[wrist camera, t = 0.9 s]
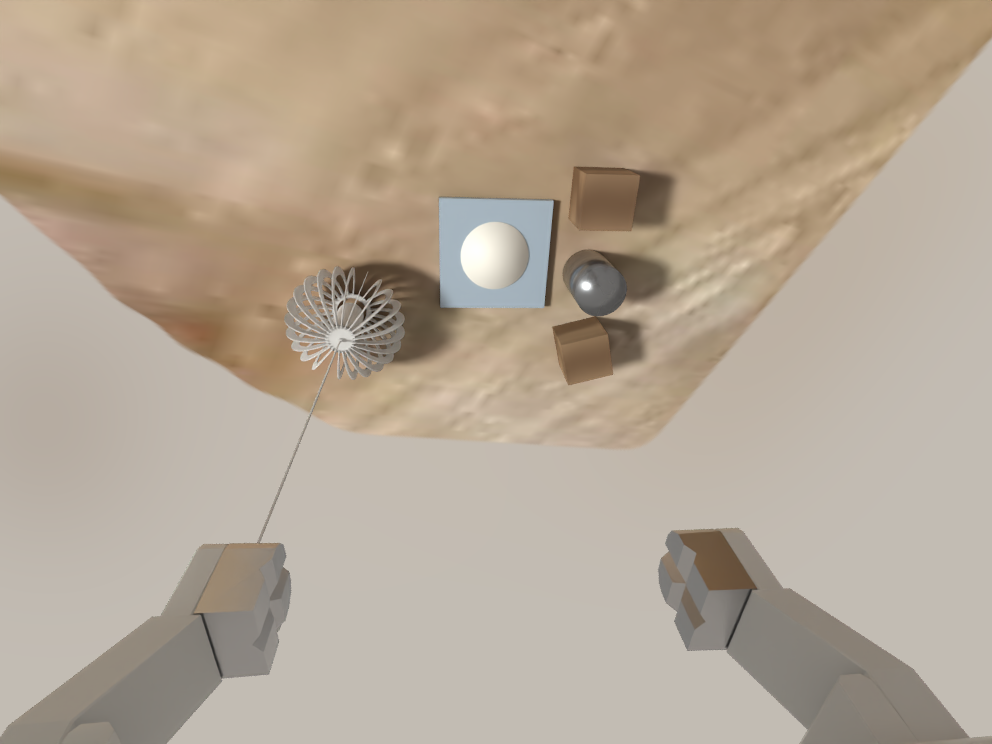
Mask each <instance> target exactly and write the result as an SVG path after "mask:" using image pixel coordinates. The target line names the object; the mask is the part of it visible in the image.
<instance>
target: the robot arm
mask: <svg viewBox="0 0 992 744" xmlns="http://www.w3.org/2000/svg"><path fill="white" fill-rule="evenodd" d="M665 544H666V546H667V548H668V550H669V552H668V553H666V554H665V555H664V556H663V557H662V558H661V560H660V565H659V569H658V572H659V584H660V588H661V592H662V594H663V597H664V599H665V601H666V603H667V604H668V605H669V606H671V607H672V608H673V609H674V610H676V611H677V614H676V618H675V621H674V622H675V624H676V626H677V629H678V631H679V633H680V635H681V638H682V640H683V642H684V644H685V647H686V648H687V650H688V651H690V650H691V651H692V650H693V651H695V650H727V653H728V654H729V655H730V656H731V657H732V658H733V659H735V660H736V661H737V662H738V663H739V664H740V665H741V666H742V667H743V668H744V669H745V670H746V671H747V672H748V673H749V674H750V675H751V676H752V677H753V678H754V679H755V680H756V681H757V682H758V683H760V684H761V685H762V686H763V687H764V688H765V689H766V690H767V691H768V692H769V693H770V694H771V695H772V696H773V697H774V698H775V699H776V700H777V701H778V702H779V703H780V704H781V705H782V706H784V707H785V708H786V709H787V710H788V711H789V712H790V713H791V714H792V715H793V716H794V717H795V718H796V719H797V720H798V721H799V722H800V723H801V724H802V725H803V726H804V727H805V728H806V729H808V730H807V732H806V733H805V735H804V737H803V739H802V740H801V742H800V744H992V736H986V737H974V738H969V736H968V735H967V734H966V733H965V731H964V730H963V729H962V728H961V727H960V726H959V724H958V723H957V722H956V720H955V719H954V718H953V717H952V716H951V714H950V713H949V712H948V711H947V710H946V708H945V707H944V706H943V705H942V703H941V702H940V701H939V700H938V699H937V697H936V696H935V695H934V694H933V692H932V691H931V690H930V689H929V687H928V686H927V685H926V684H925V683H924V681H923V680H922V679H921V678H920V677H919V675H918V674H917V673H916V672H915V670H914V669H913V668H911V667H910V666H908V665H906V664H905V663H903V662H902V661H900V660H899V659H897V658H896V657H894V656H893V655H891V654H890V653H888V652H887V651H885V650H883V649H882V648H880V647H879V646H877V645H876V644H874V643H873V642H871V641H870V640H868V639H867V638H865V637H864V636H862V635H861V634H859V633H857V632H856V631H854V630H853V629H851V628H850V627H848V626H847V625H845V624H844V623H842V622H840V621H839V620H838V619H836V618H834V617H833V616H831V615H830V614H828V613H827V612H825V611H823V610H822V609H821V608H819V607H818V606H816V605H815V604H813V603H811V602H810V601H808V600H807V599H805V598H804V597H802V596H801V595H799V594H798V593H796V592H794V591H793V590H792V589H783V587H782V586H781V585H780V583H779V582H778V581H777V579H776V578H775V576H774V575H773V573H772V572H771V570H770V569H769V567H768V566H767V565H766V563H765V562H764V560H763V559H762V557H761V556H760V555H759V553H758V552H757V550H756V549H755V547H754V546H753V545H752V543H751V542H750V540H749V539H748V538H747V536H746V535H745V533H744V532H743V531H742V530H740V529H739V528H724V529H698V530H676V531H671V532H670V533H669V534H668V536H667V539H666V543H665ZM285 558H286V553H285V549H284V545H283V544H281V543H243V544H241V543H238V544H234V543H233V544H203V545H202V546H201V547H199V548H198V549H197V550H196V552H195V553H194V555H193V557H192V559H191V561H190V563H189V565H188V566H187V568H186V570H185V572H184V574H183V576H182V577H181V579H180V581H179V583H178V585H177V587H176V589H175V590H174V592H173V594H172V596H171V598H170V599H169V601H168V603H167V605H166V607H165V609H164V611H163V612H162V614H161V616H157V617H151V618H150V619H148V620H147V621H146V622H145V623H143V624H142V625H140V626H139V627H138V628H137V629H135V630H134V631H133V632H131V633H130V634H129V635H127V636H126V637H125V638H123V639H122V640H121V641H119V642H118V643H117V644H115V645H114V646H113V647H111V648H110V649H109V650H107V651H106V652H105V653H104V654H102V655H101V656H100V657H98V658H97V659H96V660H95V661H93V662H92V663H91V664H89V665H88V666H87V667H85V668H84V669H82V670H81V671H80V672H78V673H77V674H76V675H74V676H73V677H72V678H71V679H69V680H68V681H67V682H66V683H64V684H63V685H61V686H60V687H59V688H57V689H56V690H55V691H53V692H52V693H51V694H50V695H48V696H47V697H46V698H44V699H43V700H41V701H40V702H39V703H38V704H36V705H35V706H34V707H32V708H31V709H30V710H29V711H27V712H26V713H24V714H23V715H22V716H20V717H19V718H18V719H16V720H15V721H14V722H12V723H11V724H10V725H9V726H8V727H7V728H6V730H5V731H4V733H3V734H2V736H1V737H0V744H166V743H167V742H168V741H169V740H170V739H171V738H172V737H173V736H174V734H175V733H176V732H177V731H178V730H179V729H180V728H181V727H182V726H183V724H184V723H185V722H186V721H187V720H188V719H189V718H190V717H191V715H192V714H193V713H194V712H195V711H196V710H197V709H198V708H199V707H200V705H201V704H202V703H203V702H204V701H205V700H206V699H207V698H208V696H209V695H210V694H211V693H212V692H213V691H214V690H215V689H216V687H217V686H218V685H219V684H220V683H221V682H222V680H221V678H233V677H245V676H257V675H268V674H269V673H270V670H271V666H272V663H273V660H274V657H275V653H276V650H277V647H278V643H279V639H278V634H277V628H278V627H279V626H280V625H281V624H282V623H283V622H284V621H285V620H286V616H287V612H288V609H289V604H290V595H291V579H290V573H289V571H288V570H286V569H285V568H284V567H283V565H284V561H285Z"/></svg>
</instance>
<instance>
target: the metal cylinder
mask: <svg viewBox="0 0 992 744" xmlns="http://www.w3.org/2000/svg"><path fill="white" fill-rule="evenodd" d="M563 280H564V283H565V285H566V287H567V288H568V290H569V291H570V293H571V294H572V296H573V297H574V299H575V300H576V302H577V303H578V305H579V307H580V308H581V309H582V310H583V311H584V312H585V313H587V314H589V315H592V316H604V315H608V314H610V313H612V312H614V311H615V310H616V309H617V308H618V307H619V306H620V305H621V304H622V302H623V301H624V299H625V296H626V292H627V285H626V281H625V279H624V277H623V276H622V274H621V273H620V272H619V271H618V270H617V269H616V268H615V267H614V266H613V265H612V264H611V263H610V262H609V261H608V260H607V259H606V258H605V257H604V256H603V255H602V254H600V253H599V252H597V251H594V250H582V251H579V252H577V253H575V254H574V255H572V256H571V257H570V258H569V259H568V261H567V262H566V264H565V266H564V269H563Z"/></svg>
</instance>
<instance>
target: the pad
mask: <svg viewBox="0 0 992 744" xmlns="http://www.w3.org/2000/svg"><path fill="white" fill-rule="evenodd" d="M553 203H554V201H553V200H551V199H510V198H470V197H439V238H440V308H544V303H545V292H546V281H547V270H548V259H549V247H550V236H551V225H552V214H553Z"/></svg>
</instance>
